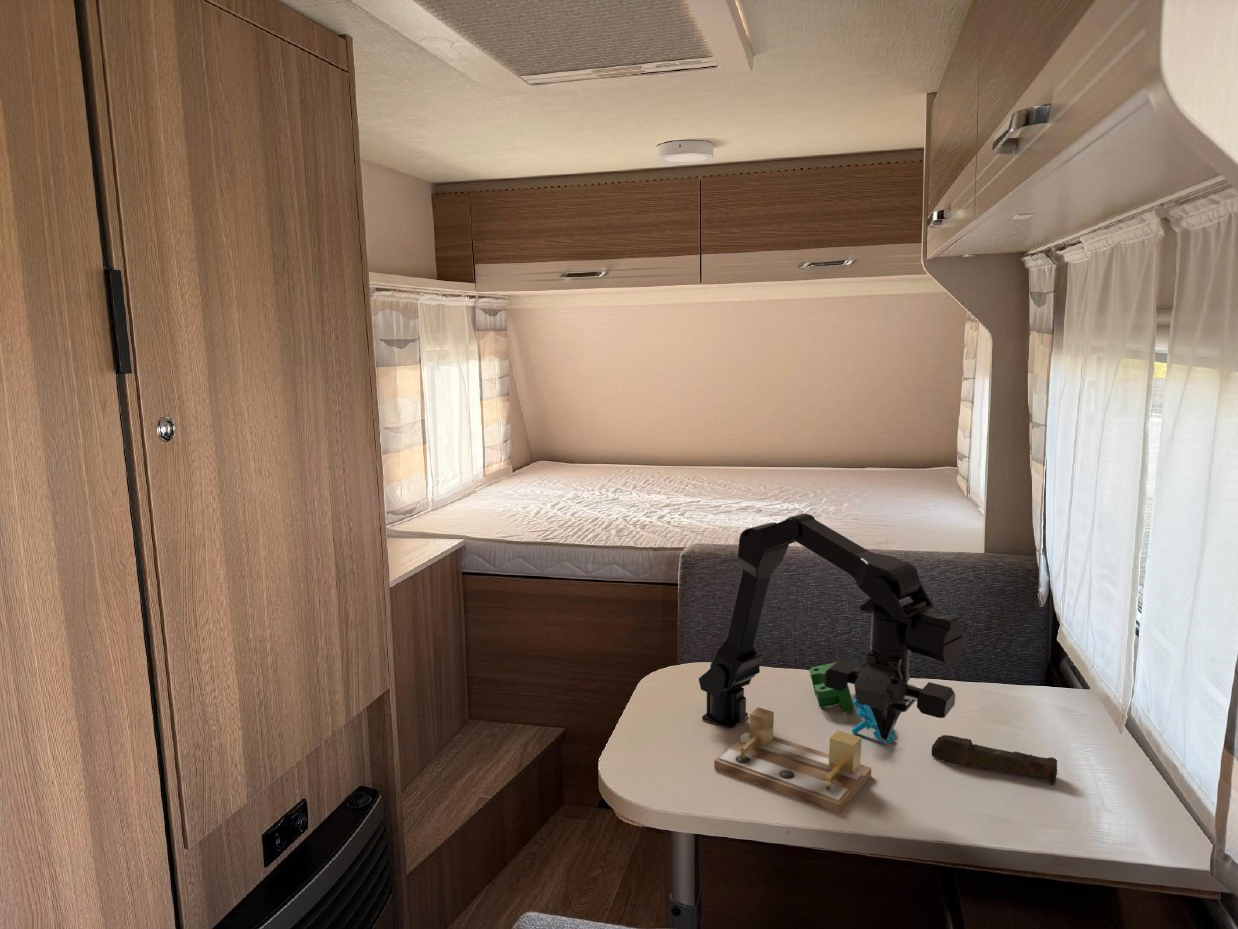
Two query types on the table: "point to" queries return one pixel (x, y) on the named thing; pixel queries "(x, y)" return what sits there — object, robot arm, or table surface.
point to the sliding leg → (843, 755)
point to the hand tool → (993, 758)
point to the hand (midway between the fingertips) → (885, 738)
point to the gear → (869, 721)
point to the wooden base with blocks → (788, 766)
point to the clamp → (829, 690)
